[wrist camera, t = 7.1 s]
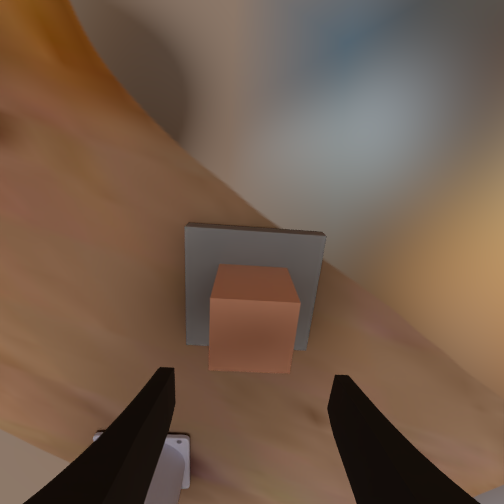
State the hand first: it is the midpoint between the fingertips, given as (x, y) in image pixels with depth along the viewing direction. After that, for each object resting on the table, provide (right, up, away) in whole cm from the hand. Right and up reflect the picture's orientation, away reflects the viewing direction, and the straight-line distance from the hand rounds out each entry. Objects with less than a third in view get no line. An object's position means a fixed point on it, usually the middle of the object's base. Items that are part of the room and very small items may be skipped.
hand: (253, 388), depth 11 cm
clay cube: (0, +3, +8) cm, 9 cm away
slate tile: (0, +3, +9) cm, 10 cm away
